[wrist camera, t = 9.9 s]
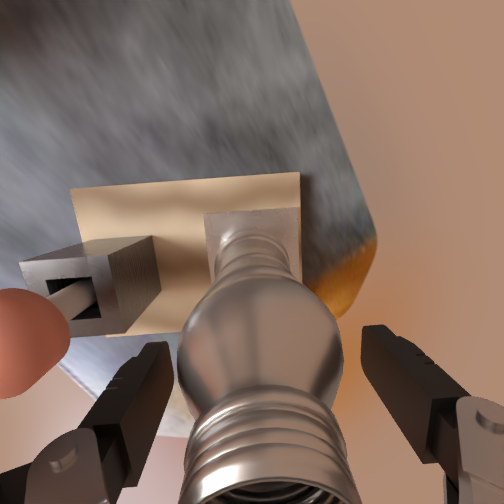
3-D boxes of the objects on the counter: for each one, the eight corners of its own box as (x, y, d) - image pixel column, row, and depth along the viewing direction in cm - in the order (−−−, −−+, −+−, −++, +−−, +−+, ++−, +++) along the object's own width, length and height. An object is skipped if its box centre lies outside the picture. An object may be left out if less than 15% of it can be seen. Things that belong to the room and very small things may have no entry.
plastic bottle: (205, 246, 23) (1, 509, 4) (265, 212, 23) (371, 329, 3) (238, 299, 25) (205, 681, 5) (296, 268, 24) (495, 579, 5)
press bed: (204, 213, 24) (202, 214, 23) (295, 206, 24) (297, 207, 23) (215, 301, 26) (214, 305, 25) (297, 295, 26) (299, 299, 25)
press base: (83, 189, 25) (69, 188, 23) (295, 173, 25) (299, 171, 23) (115, 327, 29) (106, 337, 27) (299, 313, 29) (303, 321, 27)
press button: (61, 257, 19) (-93, 310, 11) (123, 252, 19) (21, 301, 11) (76, 313, 20) (-50, 403, 12) (135, 308, 20) (52, 395, 12)
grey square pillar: (92, 239, 24) (18, 262, 16) (152, 235, 24) (107, 255, 16) (105, 295, 25) (43, 339, 18) (161, 290, 25) (124, 333, 18)
